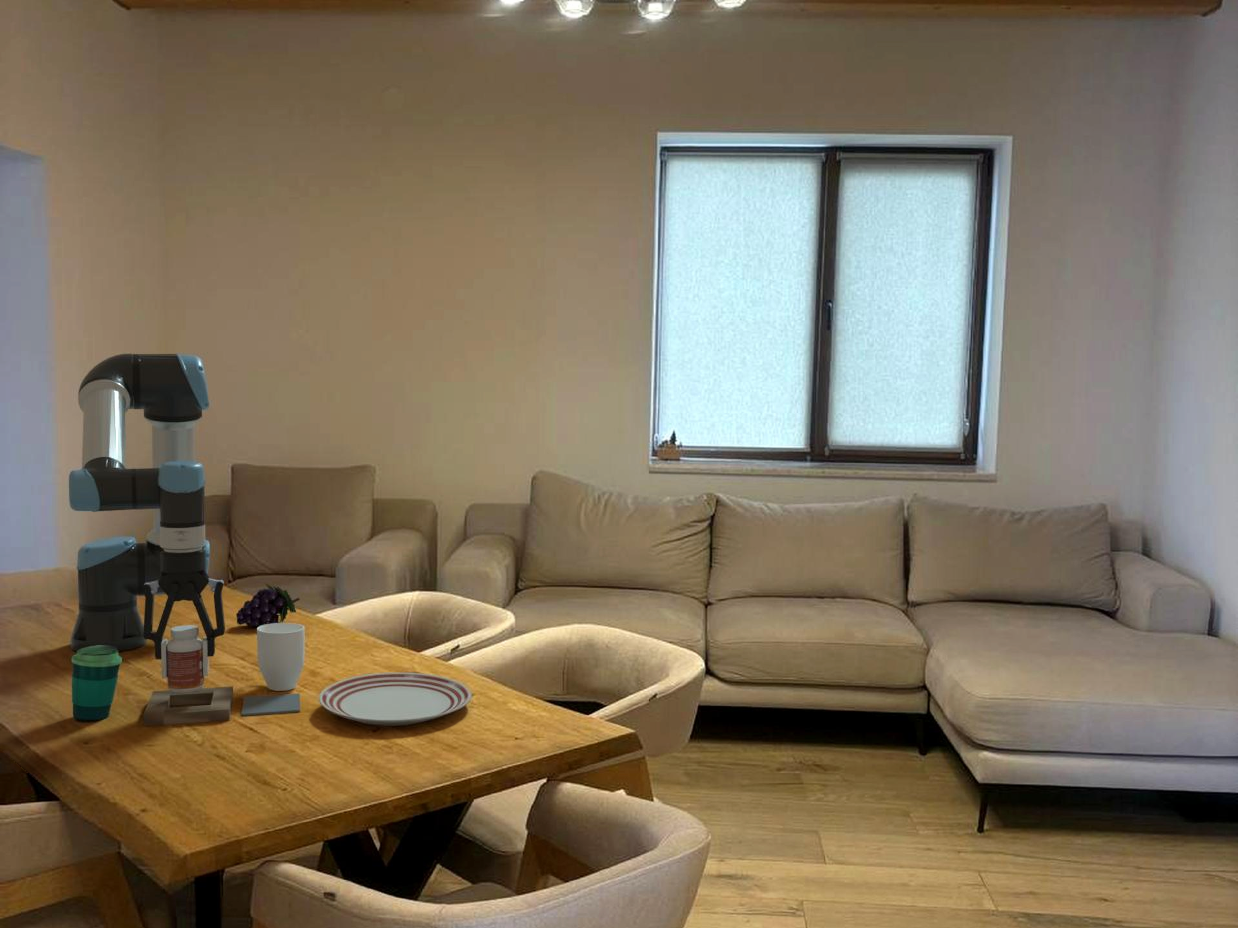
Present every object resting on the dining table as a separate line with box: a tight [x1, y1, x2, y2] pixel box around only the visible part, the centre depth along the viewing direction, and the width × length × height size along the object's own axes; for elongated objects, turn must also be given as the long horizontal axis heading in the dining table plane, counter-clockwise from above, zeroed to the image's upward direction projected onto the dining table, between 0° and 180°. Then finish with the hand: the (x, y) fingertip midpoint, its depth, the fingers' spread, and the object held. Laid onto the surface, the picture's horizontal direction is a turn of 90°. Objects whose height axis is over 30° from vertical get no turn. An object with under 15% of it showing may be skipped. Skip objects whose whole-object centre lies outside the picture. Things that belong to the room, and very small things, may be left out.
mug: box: [256, 622, 306, 692], centre depth 215 cm, size 12×9×12 cm
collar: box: [142, 685, 234, 727], centre depth 200 cm, size 14×14×2 cm
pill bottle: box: [166, 624, 205, 692], centre depth 199 cm, size 6×6×11 cm
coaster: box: [241, 693, 301, 717], centre depth 204 cm, size 10×10×1 cm
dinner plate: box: [318, 671, 472, 727], centre depth 203 cm, size 27×27×3 cm
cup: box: [70, 645, 123, 723], centre depth 196 cm, size 8×8×12 cm
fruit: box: [235, 583, 301, 628], centre depth 262 cm, size 10×11×15 cm
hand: (185, 674), depth 199 cm, fingers closed on pill bottle, 6 cm apart
